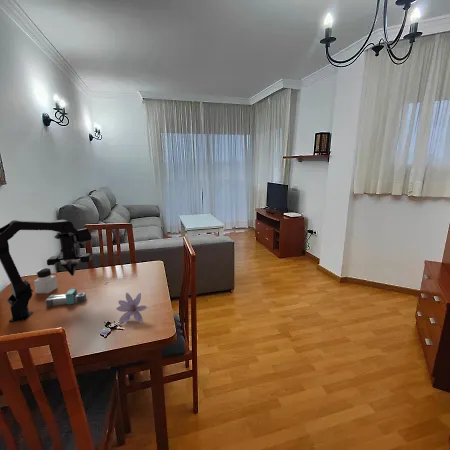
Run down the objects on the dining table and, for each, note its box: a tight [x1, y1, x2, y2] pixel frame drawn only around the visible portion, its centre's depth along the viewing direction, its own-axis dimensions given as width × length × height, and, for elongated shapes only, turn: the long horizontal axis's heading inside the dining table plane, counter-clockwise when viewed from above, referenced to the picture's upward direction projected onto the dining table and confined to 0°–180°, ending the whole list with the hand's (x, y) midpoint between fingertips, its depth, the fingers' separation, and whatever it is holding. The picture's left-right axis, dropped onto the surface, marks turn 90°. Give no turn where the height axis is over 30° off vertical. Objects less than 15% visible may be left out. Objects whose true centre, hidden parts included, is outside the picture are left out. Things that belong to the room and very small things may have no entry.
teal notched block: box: [65, 288, 78, 305], centre depth 127 cm, size 3×6×5 cm, turn 13°
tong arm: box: [48, 293, 78, 298], centre depth 128 cm, size 12×2×3 cm, turn 100°
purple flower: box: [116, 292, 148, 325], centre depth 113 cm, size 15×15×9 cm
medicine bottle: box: [33, 267, 59, 295], centre depth 138 cm, size 7×7×12 cm
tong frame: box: [45, 292, 87, 308], centre depth 126 cm, size 16×4×4 cm, turn 103°
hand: (72, 275), depth 129 cm, fingers closed
